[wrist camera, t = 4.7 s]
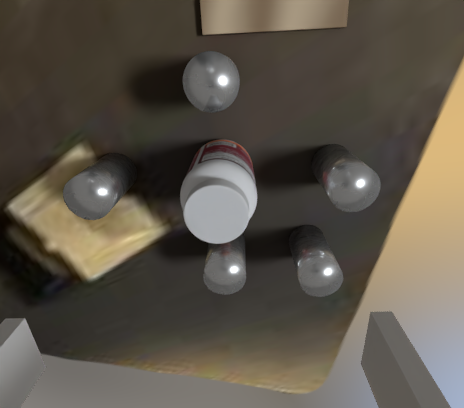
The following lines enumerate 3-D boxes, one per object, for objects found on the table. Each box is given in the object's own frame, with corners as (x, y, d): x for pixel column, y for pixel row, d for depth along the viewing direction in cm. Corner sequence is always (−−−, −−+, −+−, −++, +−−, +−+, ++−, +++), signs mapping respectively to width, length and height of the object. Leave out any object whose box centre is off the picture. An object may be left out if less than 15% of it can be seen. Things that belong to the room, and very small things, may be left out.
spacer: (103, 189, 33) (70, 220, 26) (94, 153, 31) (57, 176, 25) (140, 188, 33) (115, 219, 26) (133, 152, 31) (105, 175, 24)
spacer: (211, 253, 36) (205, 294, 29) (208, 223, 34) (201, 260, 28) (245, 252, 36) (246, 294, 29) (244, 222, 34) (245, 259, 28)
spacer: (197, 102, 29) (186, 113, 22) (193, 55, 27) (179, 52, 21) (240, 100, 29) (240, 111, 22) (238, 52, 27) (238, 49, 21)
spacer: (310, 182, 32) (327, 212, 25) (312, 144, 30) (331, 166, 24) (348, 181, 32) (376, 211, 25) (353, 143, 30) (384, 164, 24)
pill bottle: (219, 206, 33) (210, 267, 23) (180, 163, 31) (152, 210, 21) (265, 172, 31) (277, 222, 21) (227, 124, 30) (220, 156, 20)
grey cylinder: (288, 255, 36) (298, 297, 29) (289, 225, 34) (300, 262, 28) (322, 254, 36) (340, 296, 29) (325, 224, 34) (345, 261, 27)
